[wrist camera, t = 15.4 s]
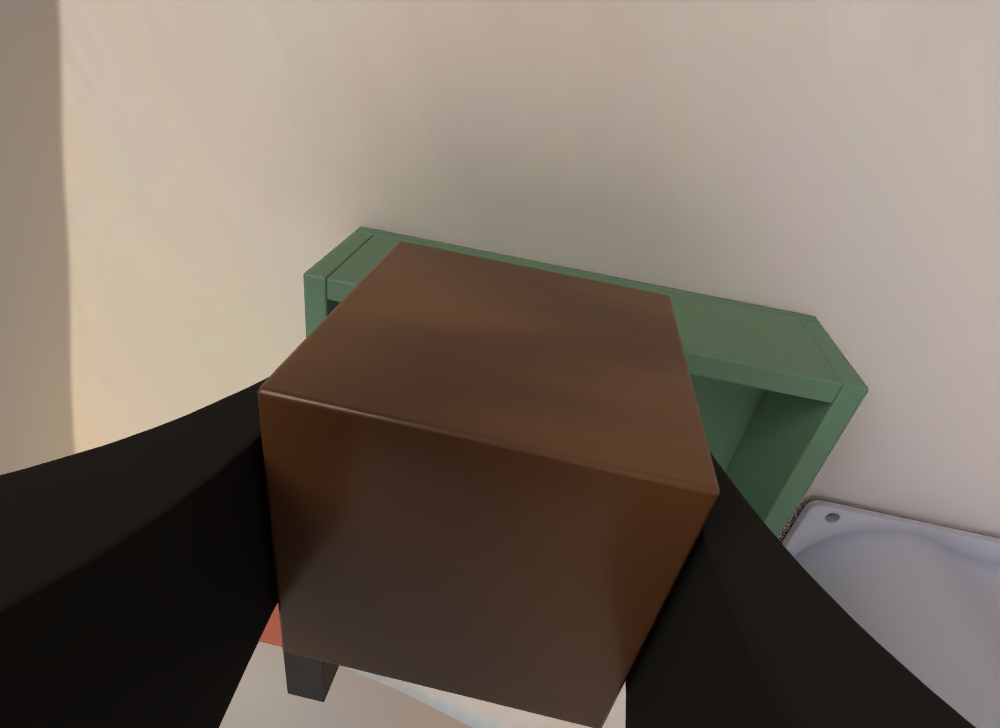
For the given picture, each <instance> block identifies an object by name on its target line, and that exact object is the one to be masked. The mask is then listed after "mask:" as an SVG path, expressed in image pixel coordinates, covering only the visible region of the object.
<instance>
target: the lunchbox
mask: <svg viewBox="0 0 1000 728" xmlns="http://www.w3.org/2000/svg"><path fill="white" fill-rule="evenodd" d="M400 241H404V242H408V243H413V244H418V245H423V246H428V247H433V248H438V249H443V250H448V251H453V252H458V253H462V254H467V255H472V256H477V257H482V258H487V259H492V260H497V261H502V262H507V263H511V264H516V265H521V266H526V267H531V268H536V269H541V270H546V271H551V272H556V273H561V274H565V275H570V276H575V277H580V278H585V279H590V280H595V281H600V282H605V283H610V284H614V285H619V286H624V287H629V288H634V289H639V290H644V291H649V292H654V293H659V294H664V295H668V296H669V297H670V299H671V303H672V307H673V311H674V314H675V318H676V322H677V326H678V330H679V334H680V338H681V342H682V346H683V349H684V353H685V357H686V361H687V365H688V369H689V373H690V377H691V381H692V384H693V388H694V392H695V396H696V400H697V404H698V408H699V412H700V416H701V419H702V423H703V427H704V431H705V435H706V439H707V443H708V447H709V451H710V452H711V453H712V455H713V456H714V458H715V459H716V460H717V462H718V463H719V465H720V466H721V467H722V469H723V470H724V471H725V473H726V474H727V475H728V477H729V478H730V479H731V481H732V482H733V483H734V485H735V486H736V487H737V489H738V490H739V491H740V493H741V494H742V495H743V497H744V498H745V499H746V500H747V502H748V503H749V504H750V506H751V507H752V508H753V509H754V511H755V512H756V513H757V514H758V516H759V517H760V518H761V519H762V520H763V522H764V523H765V524H766V525H767V527H768V528H769V529H770V530H771V531H772V532H773V534H774V535H775V536H776V537H777V538H778V537H779V535H780V534H781V532H782V530H783V529H784V527H785V526H786V524H787V522H788V521H789V519H790V517H791V516H792V514H793V512H794V511H795V509H796V508H797V506H798V504H799V503H800V501H801V499H802V498H803V496H804V495H805V493H806V491H807V490H808V488H809V486H810V485H811V483H812V481H813V480H814V478H815V477H816V475H817V473H818V472H819V470H820V468H821V467H822V465H823V464H824V462H825V460H826V459H827V457H828V455H829V454H830V452H831V450H832V449H833V447H834V446H835V444H836V442H837V441H838V439H839V437H840V436H841V434H842V433H843V431H844V429H845V428H846V426H847V424H848V423H849V421H850V419H851V418H852V416H853V415H854V413H855V411H856V410H857V408H858V406H859V405H860V403H861V402H862V400H863V398H864V397H865V395H866V393H867V392H868V387H867V386H866V385H865V383H864V382H863V381H862V379H861V378H860V377H859V375H858V374H857V373H856V371H855V370H854V369H853V367H852V366H851V364H850V363H849V362H848V360H847V359H846V358H845V356H844V355H843V354H842V352H841V351H840V350H839V348H838V347H837V346H836V344H835V343H834V342H833V340H832V339H831V338H830V336H829V335H828V334H827V332H826V331H825V330H824V328H823V327H822V326H821V324H820V322H819V321H818V320H817V318H816V317H814V316H809V315H804V314H799V313H794V312H789V311H784V310H779V309H774V308H769V307H763V306H758V305H753V304H748V303H743V302H738V301H733V300H728V299H723V298H718V297H713V296H708V295H703V294H698V293H693V292H688V291H683V290H678V289H673V288H668V287H663V286H658V285H652V284H647V283H642V282H637V281H632V280H627V279H622V278H617V277H612V276H607V275H602V274H597V273H592V272H587V271H582V270H577V269H572V268H567V267H562V266H557V265H552V264H547V263H541V262H536V261H531V260H526V259H521V258H516V257H511V256H506V255H501V254H496V253H491V252H486V251H481V250H476V249H471V248H466V247H461V246H456V245H451V244H446V243H441V242H436V241H430V240H425V239H420V238H415V237H410V236H405V235H400V234H395V233H390V232H385V231H380V230H375V229H370V228H365V227H359V228H358V229H357V230H356V231H355V232H353V233H352V234H351V235H350V236H349V237H347V238H346V239H345V240H344V241H343V242H341V243H340V244H339V245H338V246H337V247H335V248H334V249H333V250H332V251H331V252H329V253H328V254H327V255H326V256H325V257H323V258H322V259H321V260H320V261H319V262H317V263H316V264H315V265H314V266H312V267H311V268H310V269H309V270H308V271H306V272H305V273H304V296H305V318H306V338H307V337H308V336H309V335H310V334H311V333H312V332H313V331H314V330H315V329H316V328H317V327H318V325H319V324H320V323H321V322H322V321H323V320H324V319H325V318H326V317H327V316H328V315H329V314H330V313H331V312H332V311H333V310H334V309H335V308H336V307H337V306H338V305H339V304H340V302H341V301H342V300H343V299H344V298H345V297H346V296H347V295H348V294H349V293H350V292H351V291H352V290H353V289H354V288H355V287H356V286H357V285H358V284H359V283H360V282H361V281H362V279H363V278H364V277H365V276H366V275H367V274H368V273H369V272H370V271H371V270H372V269H373V268H374V267H375V266H376V265H377V264H378V263H379V262H380V261H381V260H382V259H383V257H384V256H385V255H386V254H387V253H388V252H389V251H390V250H391V249H392V248H393V247H394V246H395V245H396V244H397V243H398V242H400Z"/></svg>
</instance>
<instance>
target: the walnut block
mask: <svg viewBox="0 0 1000 728" xmlns="http://www.w3.org/2000/svg"><path fill="white" fill-rule="evenodd" d="M257 395H258V405H259V415H260V425H261V435H262V445H263V456H264V466H265V476H266V486H267V496H268V506H269V516H270V526H271V536H272V546H273V556H274V566H275V577H276V587H277V597H278V607H279V617H280V627H281V637H282V647H283V650H284V651H285V652H288V653H292V654H296V655H300V656H304V657H308V658H312V659H316V660H321V661H325V662H329V663H333V664H337V665H341V666H345V667H349V668H353V669H357V670H361V671H365V672H369V673H373V674H377V675H381V676H385V677H389V678H394V679H398V680H402V681H406V682H410V683H414V684H418V685H422V686H426V687H430V688H434V689H438V690H442V691H446V692H450V693H454V694H458V695H462V696H467V697H471V698H475V699H479V700H483V701H487V702H491V703H495V704H499V705H503V706H507V707H511V708H515V709H519V710H523V711H527V712H531V713H535V714H540V715H544V716H548V717H552V718H556V719H560V720H564V721H568V722H572V723H576V724H580V725H584V726H588V727H592V728H602V726H603V724H604V722H605V720H606V718H607V716H608V714H609V712H610V710H611V708H612V706H613V704H614V702H615V700H616V698H617V696H618V694H619V692H620V690H621V688H622V686H623V684H624V683H625V681H626V679H627V677H628V675H629V673H630V671H631V669H632V667H633V665H634V663H635V661H636V659H637V657H638V655H639V653H640V651H641V649H642V647H643V645H644V643H645V641H646V639H647V637H648V635H649V633H650V631H651V629H652V627H653V625H654V623H655V621H656V619H657V617H658V615H659V613H660V611H661V609H662V607H663V605H664V603H665V601H666V599H667V597H668V595H669V593H670V591H671V589H672V587H673V585H674V583H675V581H676V579H677V577H678V575H679V573H680V571H681V569H682V567H683V565H684V563H685V561H686V559H687V557H688V555H689V553H690V551H691V549H692V548H693V546H694V544H695V542H696V540H697V538H698V536H699V534H700V532H701V530H702V528H703V526H704V524H705V522H706V520H707V518H708V516H709V514H710V512H711V510H712V508H713V506H714V504H715V502H716V500H717V498H718V496H719V493H720V492H719V486H718V482H717V478H716V474H715V470H714V466H713V462H712V458H711V455H710V451H709V447H708V443H707V439H706V435H705V431H704V427H703V423H702V419H701V416H700V412H699V408H698V404H697V400H696V396H695V392H694V388H693V384H692V381H691V377H690V373H689V369H688V365H687V361H686V357H685V353H684V349H683V346H682V342H681V338H680V334H679V330H678V326H677V322H676V318H675V314H674V311H673V307H672V303H671V299H670V297H669V296H668V295H664V294H659V293H654V292H649V291H644V290H639V289H634V288H629V287H624V286H619V285H614V284H610V283H605V282H600V281H595V280H590V279H585V278H580V277H575V276H570V275H565V274H561V273H556V272H551V271H546V270H541V269H536V268H531V267H526V266H521V265H516V264H511V263H507V262H502V261H497V260H492V259H487V258H482V257H477V256H472V255H467V254H462V253H458V252H453V251H448V250H443V249H438V248H433V247H428V246H423V245H418V244H413V243H408V242H404V241H400V242H398V243H397V244H396V245H395V246H394V247H393V248H392V249H391V250H390V251H389V252H388V253H387V254H386V255H385V256H384V257H383V259H382V260H381V261H380V262H379V263H378V264H377V265H376V266H375V267H374V268H373V269H372V270H371V271H370V272H369V273H368V274H367V275H366V276H365V277H364V278H363V279H362V281H361V282H360V283H359V284H358V285H357V286H356V287H355V288H354V289H353V290H352V291H351V292H350V293H349V294H348V295H347V296H346V297H345V298H344V299H343V300H342V301H341V302H340V304H339V305H338V306H337V307H336V308H335V309H334V310H333V311H332V312H331V313H330V314H329V315H328V316H327V317H326V318H325V319H324V320H323V321H322V322H321V323H320V324H319V325H318V327H317V328H316V329H315V330H314V331H313V332H312V333H311V334H310V335H309V336H308V337H307V338H306V339H305V340H304V341H303V342H302V343H301V344H300V345H299V346H298V347H297V349H296V350H295V351H294V352H293V353H292V354H291V355H290V356H289V357H288V358H287V359H286V360H285V361H284V362H283V363H282V364H281V365H280V366H279V367H278V368H277V369H276V370H275V372H274V373H273V374H272V375H271V376H270V377H269V378H268V379H267V380H266V381H265V382H264V383H263V384H262V385H261V386H260V387H259V390H258V394H257Z"/></svg>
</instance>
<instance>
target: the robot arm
mask: <svg viewBox="0 0 1000 728" xmlns="http://www.w3.org/2000/svg"><path fill="white" fill-rule="evenodd" d="M268 378H269V377H268ZM268 378H266V379H264V380H262V381H260V382H258V383H256V384H254V385H252V386H250V387H248V388H246V389H244V390H242V391H240V392H237V393H235V394H233V395H231V396H228V397H226V398H224V399H222V400H220V401H217V402H215V403H213V404H211V405H208V406H206V407H204V408H202V409H199V410H197V411H195V412H193V413H191V414H188V415H186V416H183V417H181V418H178V419H176V420H173V421H171V422H168V423H166V424H163V425H161V426H158V427H155V428H153V429H150V430H147V431H144V432H141V433H139V434H136V435H133V436H130V437H127V438H125V439H122V440H119V441H116V442H113V443H110V444H107V445H104V446H101V447H97V448H94V449H91V450H87V451H84V452H80V453H77V454H74V455H71V456H67V457H64V458H60V459H57V460H53V461H50V462H47V463H43V464H40V465H36V466H33V467H30V468H26V469H23V470H19V471H15V472H11V473H7V474H3V475H0V728H219V726H220V724H221V721H222V719H223V717H224V715H225V713H226V710H227V708H228V706H229V704H230V702H231V699H232V698H233V695H234V693H235V691H236V689H237V686H238V684H239V682H240V680H241V678H242V676H243V673H244V671H245V669H246V667H247V665H248V663H249V661H250V659H251V656H252V654H253V652H254V650H255V648H256V646H257V644H258V642H259V640H260V638H261V636H262V634H263V631H264V629H265V627H266V625H267V623H268V621H269V619H270V617H271V615H272V613H273V611H274V609H275V607H276V605H277V603H278V597H277V587H276V577H275V566H274V556H273V546H272V536H271V526H270V516H269V506H268V496H267V486H266V476H265V466H264V456H263V445H262V435H261V425H260V415H259V405H258V395H257V394H258V390H259V387H260V386H261V385H262V384H263V383H264V382H265V381H266V380H267V379H268ZM710 455H711V458H712V462H713V466H714V470H715V474H716V478H717V482H718V486H719V492H720V493H719V496H718V498H717V500H716V502H715V504H714V506H713V508H712V510H711V512H710V514H709V516H708V518H707V520H706V522H705V524H704V526H703V528H702V530H701V532H700V534H699V536H698V538H697V540H696V542H695V544H694V546H693V548H692V549H691V551H690V553H689V555H688V557H687V559H686V561H685V563H684V565H683V567H682V569H681V571H680V573H679V575H678V577H677V579H676V581H675V583H674V585H673V587H672V589H671V591H670V593H669V595H668V597H667V599H666V601H665V603H664V605H663V607H662V609H661V611H660V613H659V615H658V617H657V619H656V621H655V623H654V625H653V627H652V629H651V631H650V633H649V635H648V637H647V639H646V641H645V643H644V645H643V647H642V649H641V651H640V653H639V655H638V657H637V659H636V661H635V663H634V665H633V667H632V669H631V671H630V673H629V675H628V677H627V679H626V728H1000V538H995V537H990V536H986V535H981V534H976V533H972V532H967V531H962V530H958V529H953V528H949V527H944V526H939V525H935V524H930V523H925V522H921V521H916V520H911V519H907V518H902V517H897V516H893V515H888V514H883V513H879V512H874V511H870V510H865V509H860V508H856V507H851V506H846V505H842V504H837V503H832V502H828V501H823V500H814V501H811V502H809V503H807V504H806V505H805V506H804V508H803V510H802V511H801V513H800V514H799V516H798V518H797V519H796V521H795V522H794V524H793V526H792V527H791V529H790V530H789V532H788V534H787V535H786V537H785V539H784V540H783V542H782V543H781V542H780V541H779V539H778V538H777V537H776V536H775V535H774V534H773V532H772V531H771V530H770V529H769V528H768V527H767V525H766V524H765V523H764V522H763V520H762V519H761V518H760V517H759V516H758V514H757V513H756V512H755V511H754V509H753V508H752V507H751V506H750V504H749V503H748V502H747V500H746V499H745V498H744V497H743V495H742V494H741V493H740V491H739V490H738V489H737V487H736V486H735V485H734V483H733V482H732V481H731V479H730V478H729V477H728V475H727V474H726V473H725V471H724V470H723V469H722V467H721V466H720V465H719V463H718V462H717V460H716V459H715V458H714V456H713V455H712V453H711V452H710ZM831 513H834V514H833V515H828V514H831Z"/></svg>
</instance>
